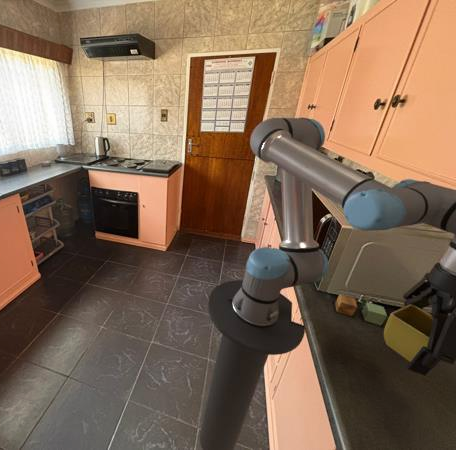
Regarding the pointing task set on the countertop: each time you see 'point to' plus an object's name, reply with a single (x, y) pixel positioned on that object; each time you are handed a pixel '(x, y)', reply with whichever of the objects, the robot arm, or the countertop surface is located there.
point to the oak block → (345, 305)
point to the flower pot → (408, 331)
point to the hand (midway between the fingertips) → (406, 348)
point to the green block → (374, 313)
